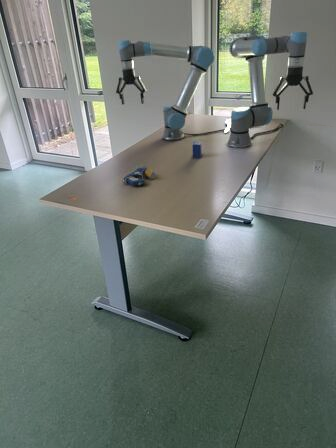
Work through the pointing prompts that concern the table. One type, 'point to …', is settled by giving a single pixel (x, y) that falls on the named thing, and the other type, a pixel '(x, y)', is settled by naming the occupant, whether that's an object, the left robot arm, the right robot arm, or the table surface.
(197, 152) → the block
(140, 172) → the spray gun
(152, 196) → the table surface
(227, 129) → the spoon
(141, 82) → the left robot arm
